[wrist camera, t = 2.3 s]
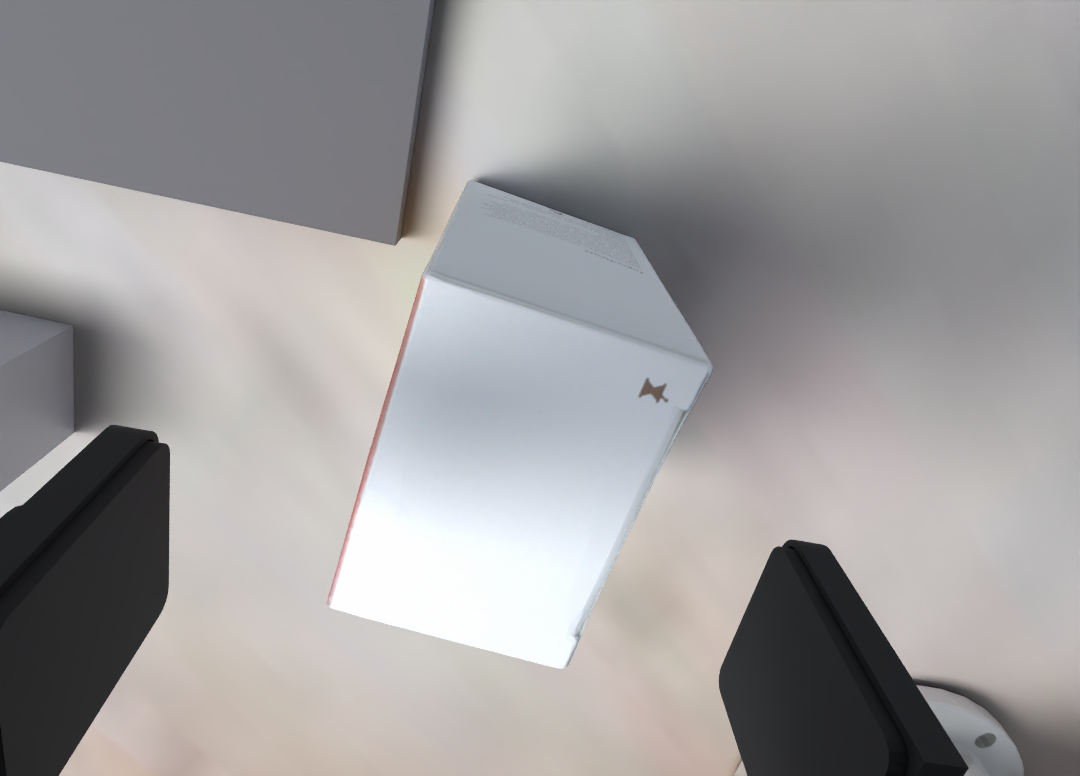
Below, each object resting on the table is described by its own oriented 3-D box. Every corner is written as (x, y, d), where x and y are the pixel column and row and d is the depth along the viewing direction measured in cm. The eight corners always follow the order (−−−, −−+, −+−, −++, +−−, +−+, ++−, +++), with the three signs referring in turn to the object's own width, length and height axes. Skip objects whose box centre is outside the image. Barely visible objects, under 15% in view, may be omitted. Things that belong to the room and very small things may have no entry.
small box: (468, 175, 22) (421, 257, 12) (640, 237, 22) (724, 361, 13) (398, 402, 25) (316, 615, 15) (552, 450, 26) (567, 680, 16)
